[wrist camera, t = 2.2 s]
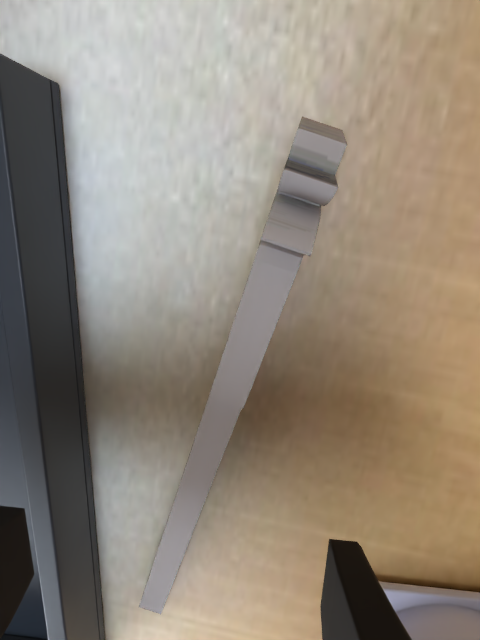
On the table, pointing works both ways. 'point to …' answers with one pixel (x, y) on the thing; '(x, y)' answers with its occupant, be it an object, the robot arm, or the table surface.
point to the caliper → (251, 333)
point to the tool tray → (43, 368)
